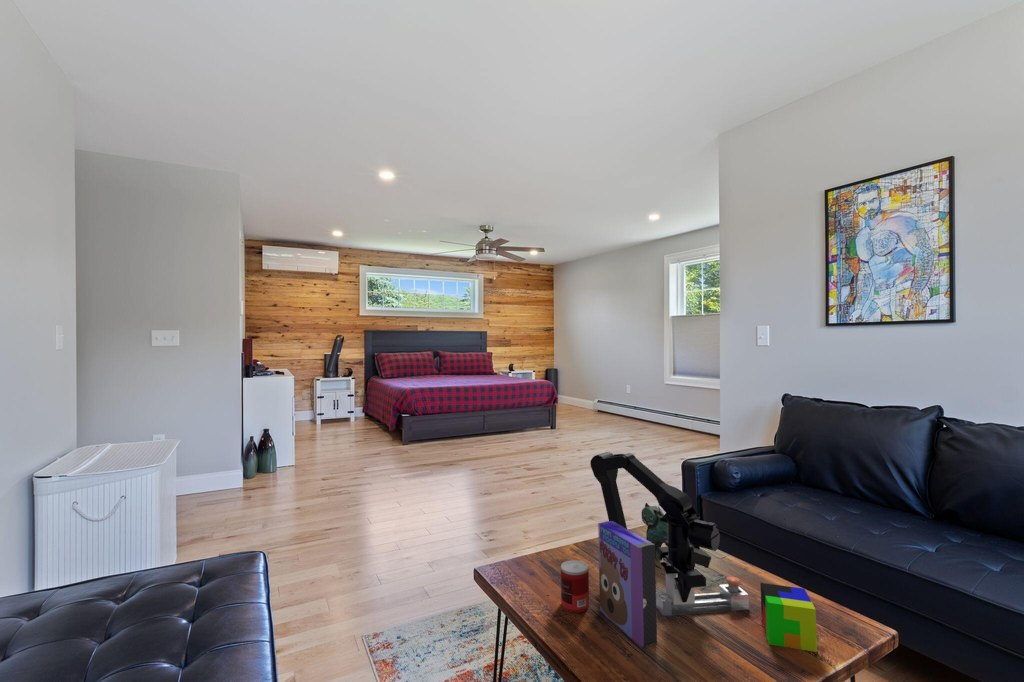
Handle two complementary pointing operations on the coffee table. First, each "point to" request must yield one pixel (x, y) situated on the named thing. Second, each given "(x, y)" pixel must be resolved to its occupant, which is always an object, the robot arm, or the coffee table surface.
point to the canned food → (575, 586)
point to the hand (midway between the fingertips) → (680, 597)
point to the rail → (704, 602)
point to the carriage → (674, 593)
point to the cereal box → (628, 582)
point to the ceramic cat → (655, 526)
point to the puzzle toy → (788, 617)
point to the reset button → (733, 584)
